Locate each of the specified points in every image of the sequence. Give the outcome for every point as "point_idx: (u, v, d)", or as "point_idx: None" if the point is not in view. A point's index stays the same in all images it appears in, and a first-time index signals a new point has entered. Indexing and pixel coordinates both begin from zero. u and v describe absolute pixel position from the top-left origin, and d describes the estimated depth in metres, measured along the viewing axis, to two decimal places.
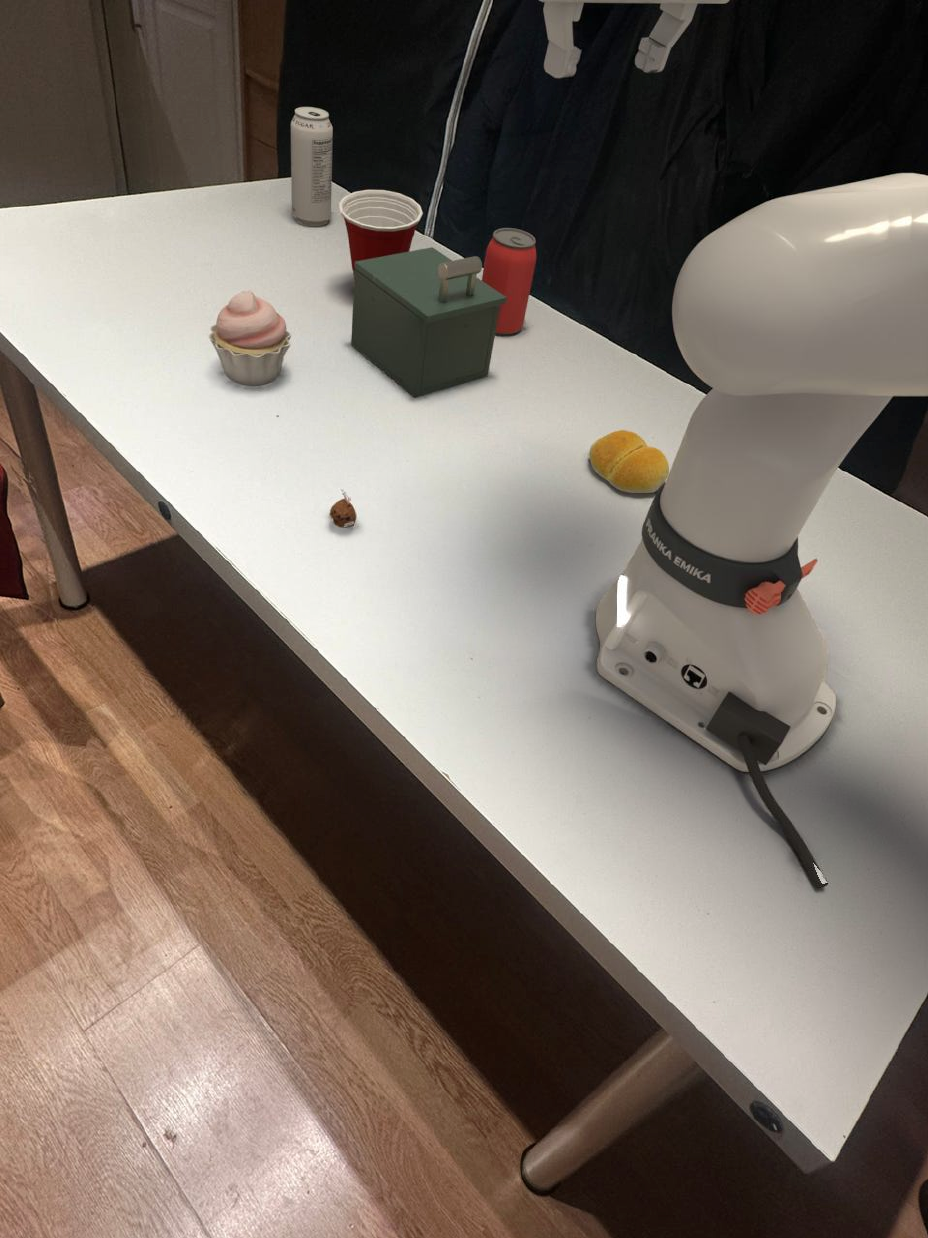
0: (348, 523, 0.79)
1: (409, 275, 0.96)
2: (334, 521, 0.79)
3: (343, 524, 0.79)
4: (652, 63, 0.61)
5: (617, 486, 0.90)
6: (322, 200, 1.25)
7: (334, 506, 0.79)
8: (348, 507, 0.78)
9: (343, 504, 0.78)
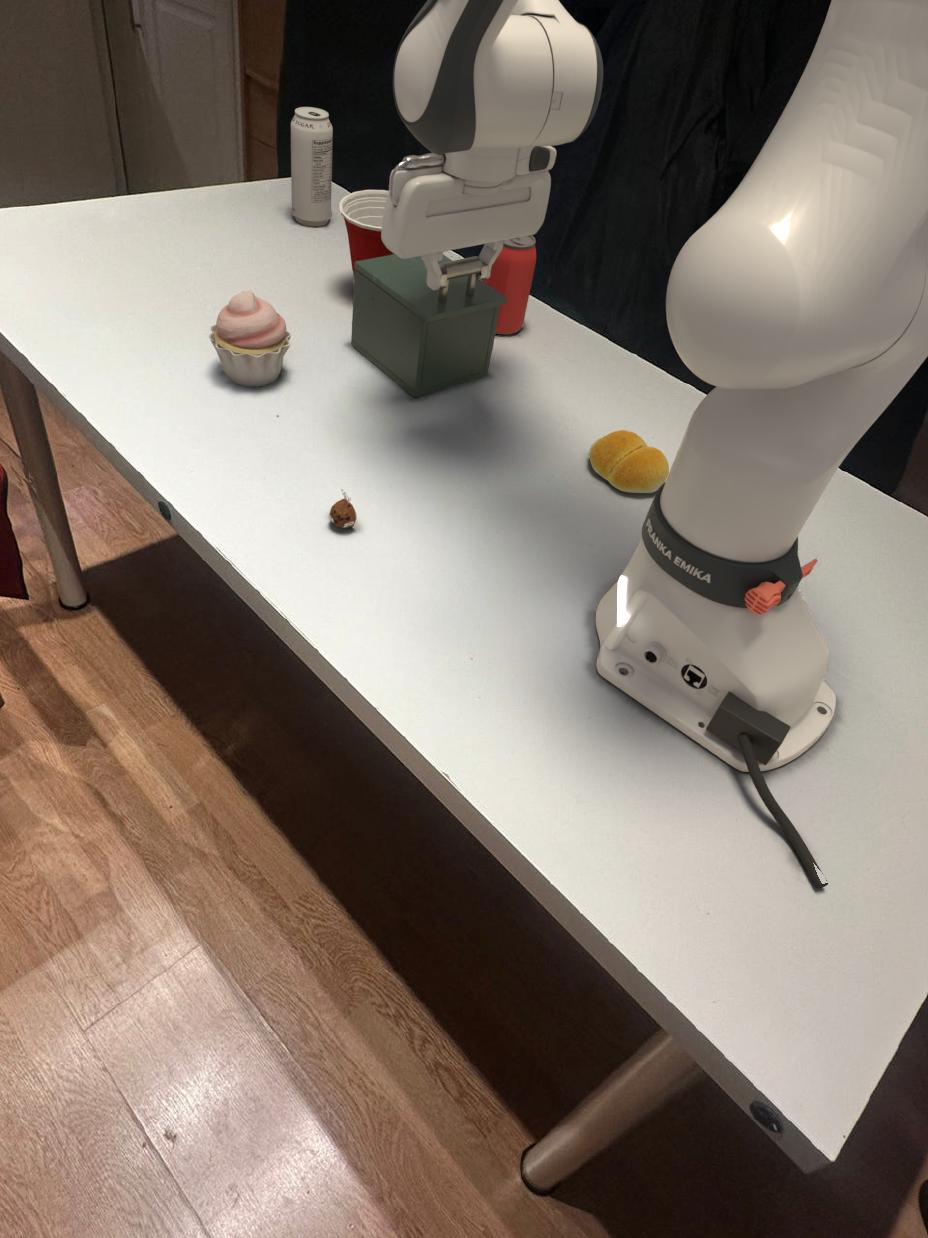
0: (348, 523, 0.79)
1: (409, 275, 0.96)
2: (334, 521, 0.79)
3: (343, 524, 0.79)
4: (480, 275, 0.93)
5: (617, 486, 0.90)
6: (322, 200, 1.25)
7: (334, 506, 0.79)
8: (348, 507, 0.78)
9: (343, 504, 0.78)
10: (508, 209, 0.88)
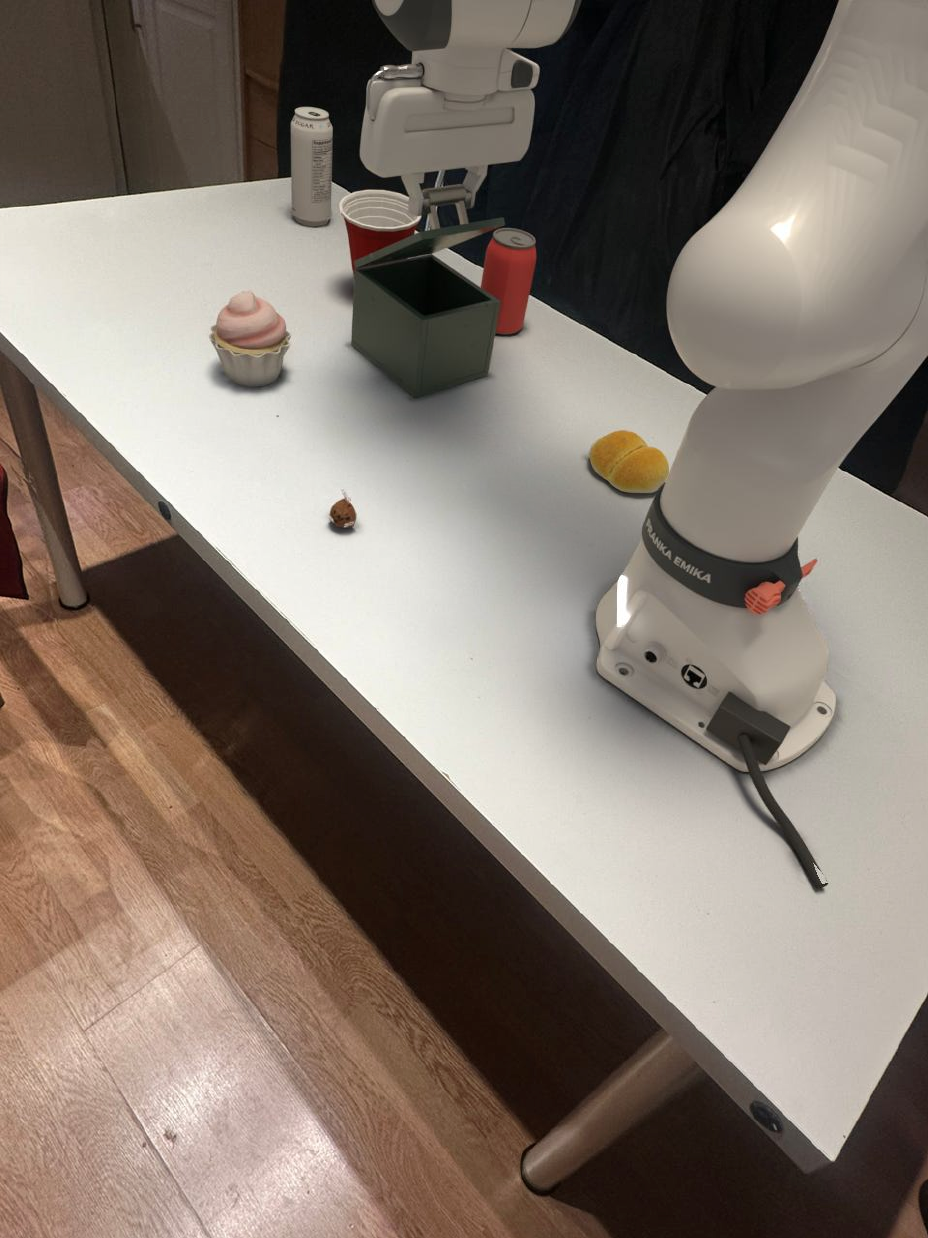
0: (348, 523, 0.79)
1: None
2: (334, 521, 0.79)
3: (343, 524, 0.79)
4: (464, 203, 0.91)
5: (617, 486, 0.90)
6: (322, 200, 1.25)
7: (334, 506, 0.79)
8: (348, 507, 0.78)
9: (343, 504, 0.78)
10: (491, 130, 0.86)
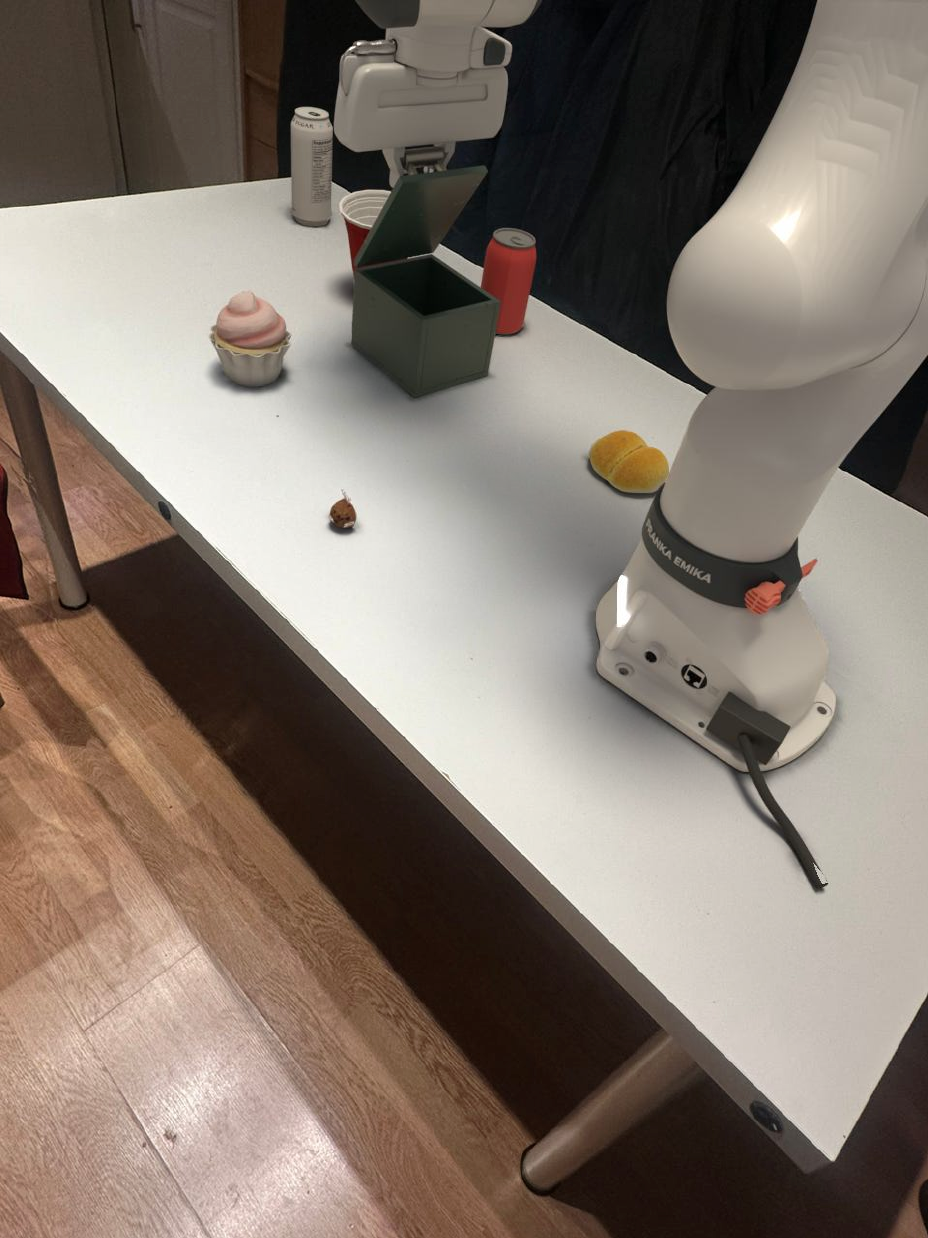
0: (348, 523, 0.79)
1: None
2: (334, 521, 0.79)
3: (343, 524, 0.79)
4: None
5: (617, 486, 0.90)
6: (322, 200, 1.25)
7: (334, 506, 0.79)
8: (348, 507, 0.78)
9: (343, 504, 0.78)
10: (464, 106, 0.87)
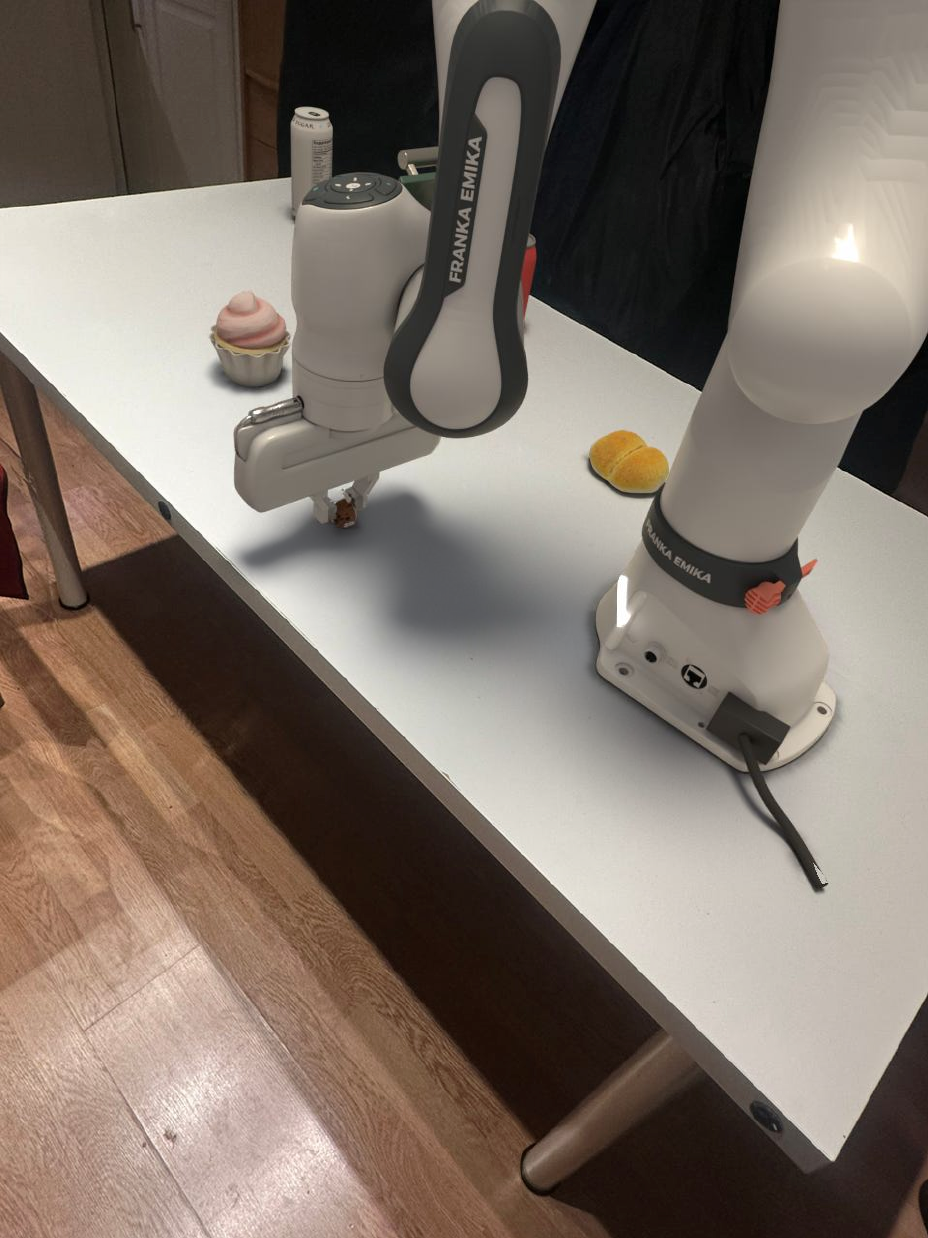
0: (348, 523, 0.79)
1: None
2: (334, 521, 0.79)
3: (343, 524, 0.79)
4: (354, 507, 0.79)
5: (617, 486, 0.90)
6: None
7: None
8: (349, 507, 0.78)
9: (343, 504, 0.78)
10: (392, 439, 0.75)
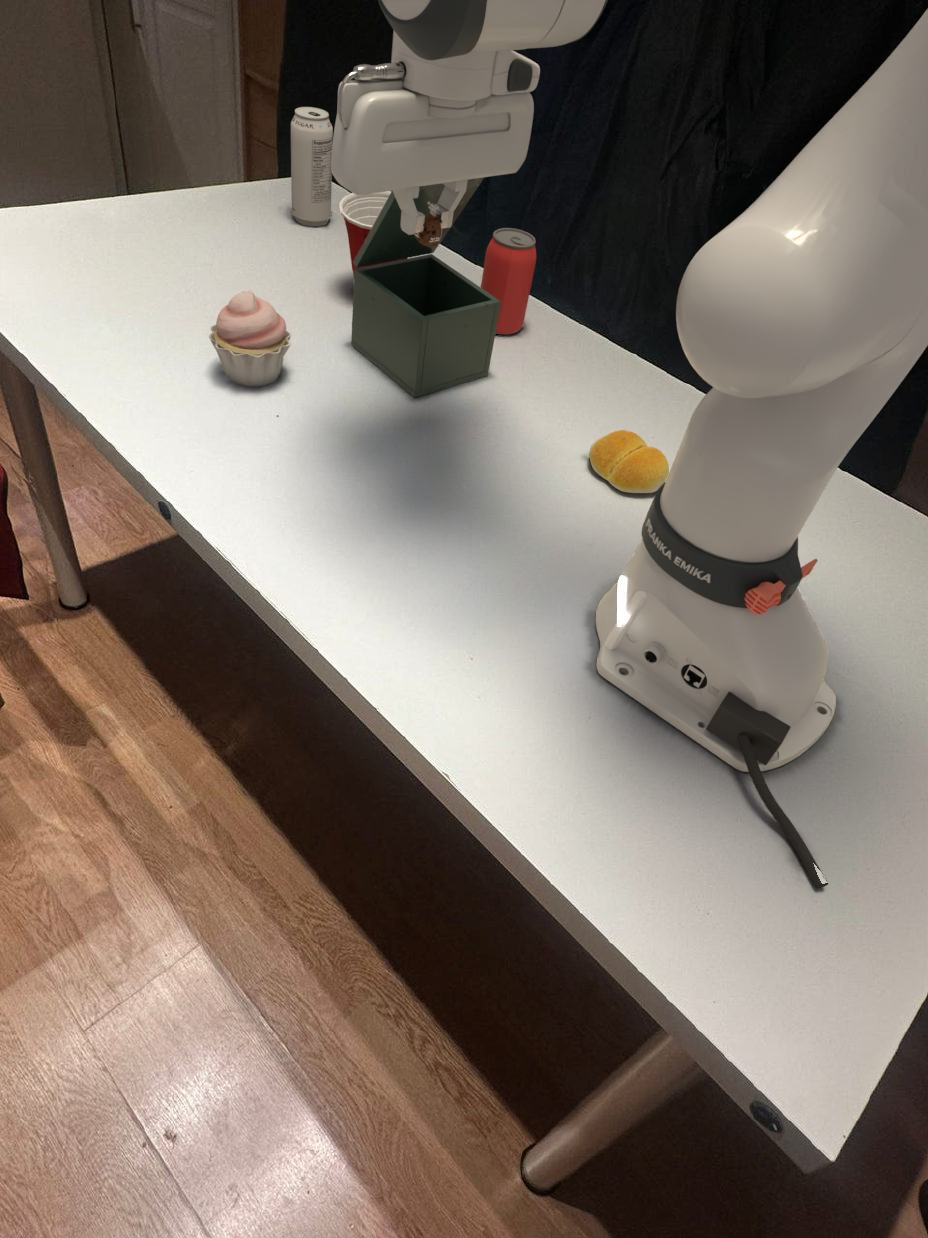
0: (434, 238, 0.79)
1: None
2: (420, 236, 0.79)
3: (429, 239, 0.79)
4: (440, 223, 0.79)
5: (617, 486, 0.90)
6: (322, 200, 1.25)
7: None
8: (434, 220, 0.78)
9: (429, 217, 0.78)
10: (483, 139, 0.74)
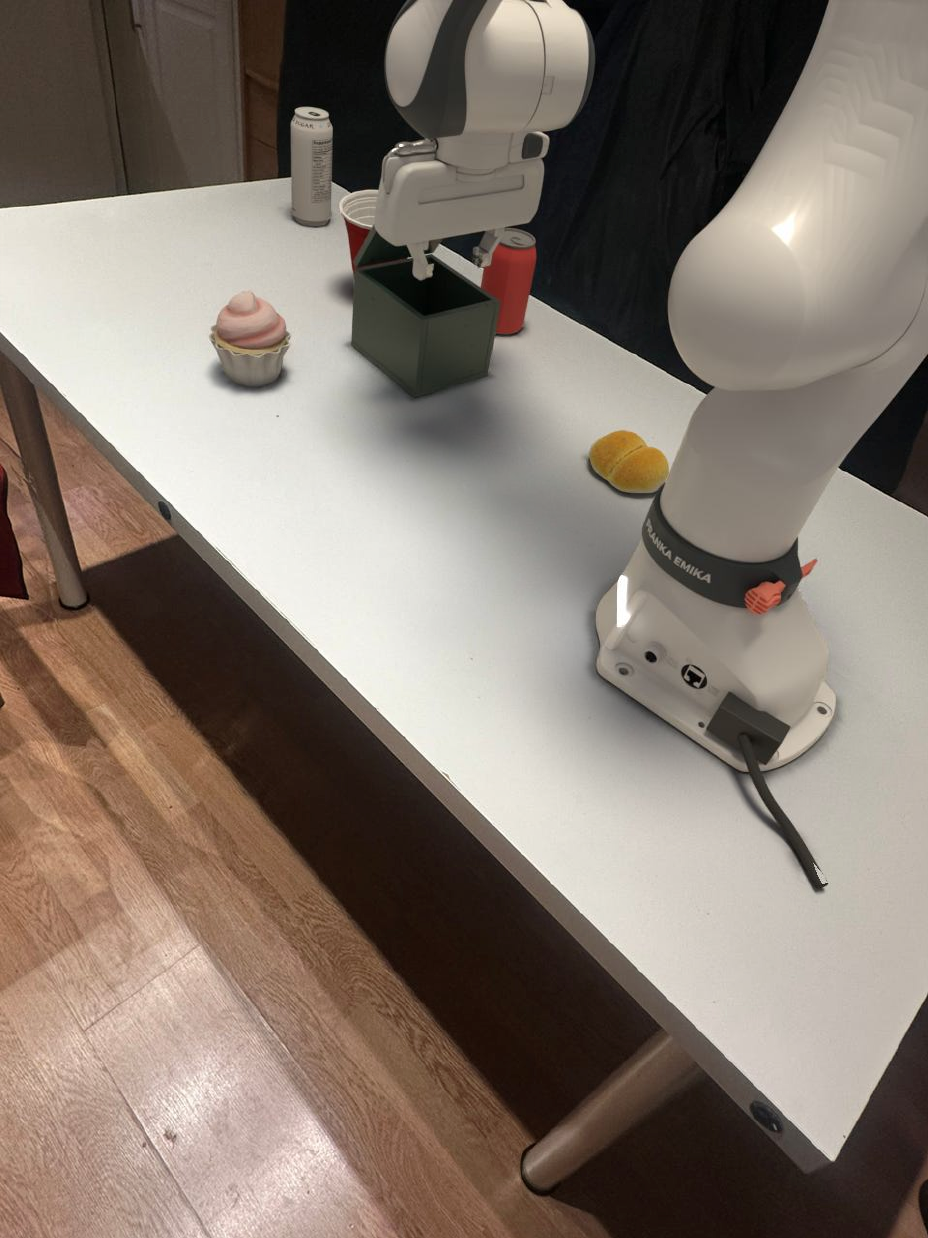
0: None
1: None
2: None
3: None
4: (481, 262, 0.94)
5: (617, 486, 0.90)
6: (322, 200, 1.25)
7: None
8: None
9: None
10: (501, 196, 0.88)
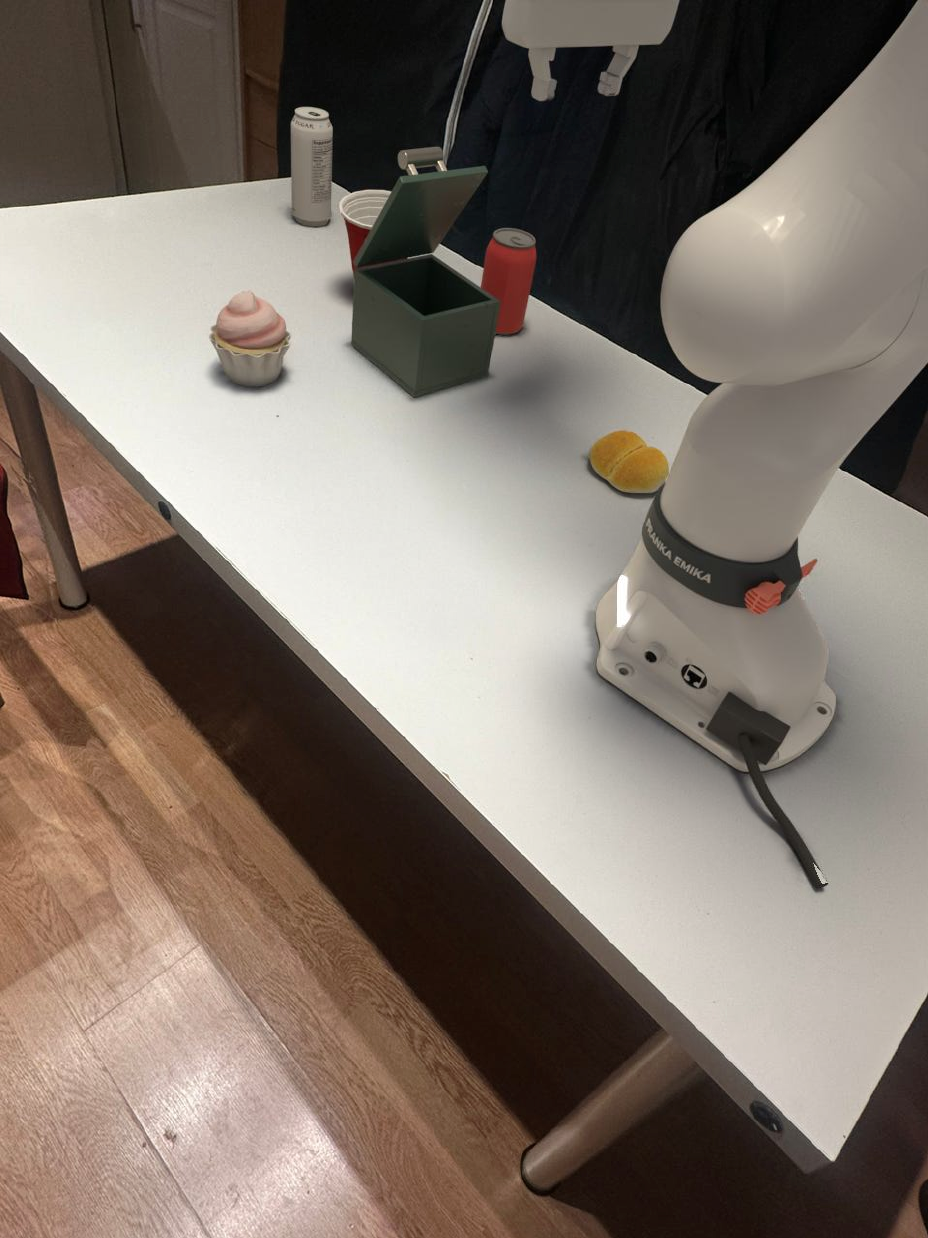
0: None
1: None
2: None
3: None
4: (610, 89, 0.84)
5: (617, 486, 0.90)
6: (322, 200, 1.25)
7: None
8: None
9: None
10: (638, 3, 0.79)
